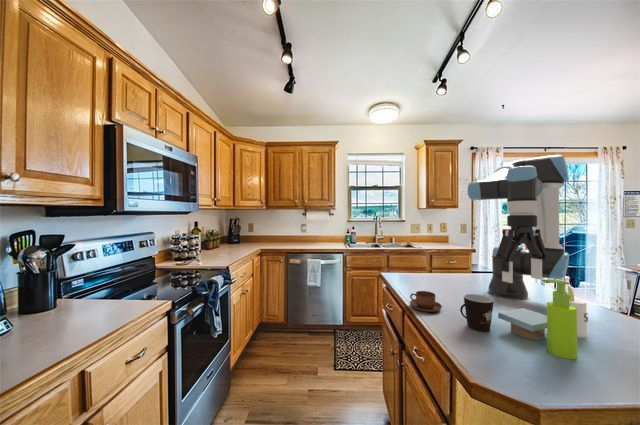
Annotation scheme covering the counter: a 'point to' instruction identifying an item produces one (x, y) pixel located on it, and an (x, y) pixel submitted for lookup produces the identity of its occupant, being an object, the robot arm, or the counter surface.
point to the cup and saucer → (425, 301)
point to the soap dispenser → (561, 323)
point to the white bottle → (579, 314)
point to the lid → (525, 319)
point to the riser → (527, 332)
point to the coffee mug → (478, 312)
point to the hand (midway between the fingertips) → (522, 280)
